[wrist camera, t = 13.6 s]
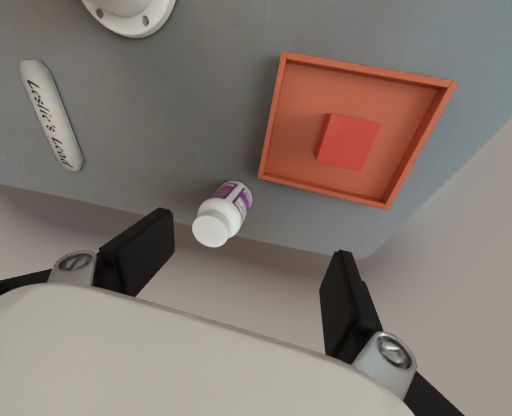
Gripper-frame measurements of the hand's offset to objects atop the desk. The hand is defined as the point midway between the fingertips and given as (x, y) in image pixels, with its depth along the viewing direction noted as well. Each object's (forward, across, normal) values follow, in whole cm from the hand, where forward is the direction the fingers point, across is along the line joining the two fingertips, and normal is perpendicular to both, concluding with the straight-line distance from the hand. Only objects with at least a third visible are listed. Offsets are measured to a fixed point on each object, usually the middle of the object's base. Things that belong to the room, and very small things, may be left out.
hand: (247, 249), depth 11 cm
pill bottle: (+17, +5, +5) cm, 19 cm away
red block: (+17, -6, -5) cm, 19 cm away
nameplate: (+18, +34, -1) cm, 38 cm away
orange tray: (+17, -6, -5) cm, 19 cm away
